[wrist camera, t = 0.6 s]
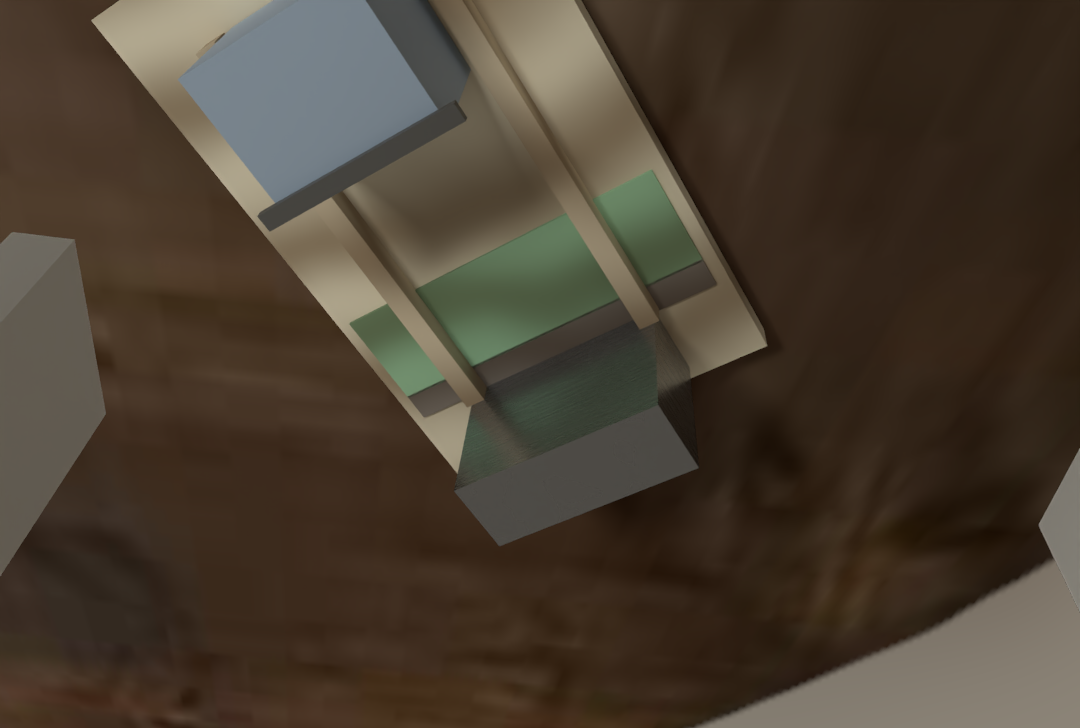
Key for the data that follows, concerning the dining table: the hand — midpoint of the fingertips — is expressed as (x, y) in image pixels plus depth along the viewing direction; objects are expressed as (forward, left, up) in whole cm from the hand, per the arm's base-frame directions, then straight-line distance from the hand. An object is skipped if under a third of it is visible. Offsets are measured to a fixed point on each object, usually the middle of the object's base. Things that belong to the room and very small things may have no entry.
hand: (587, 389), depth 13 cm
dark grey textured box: (+13, -8, -22) cm, 27 cm away
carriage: (-2, -8, -22) cm, 24 cm away
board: (+4, -8, -23) cm, 25 cm away
